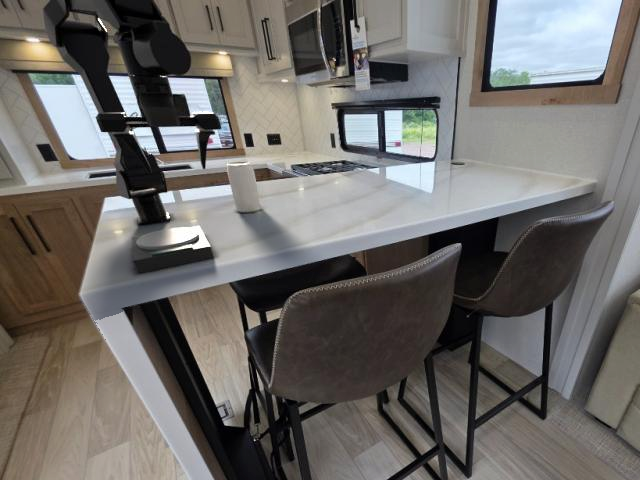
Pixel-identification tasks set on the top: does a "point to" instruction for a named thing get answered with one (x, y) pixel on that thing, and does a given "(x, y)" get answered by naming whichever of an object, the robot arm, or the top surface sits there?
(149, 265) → the scale
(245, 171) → the can
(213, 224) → the top surface
